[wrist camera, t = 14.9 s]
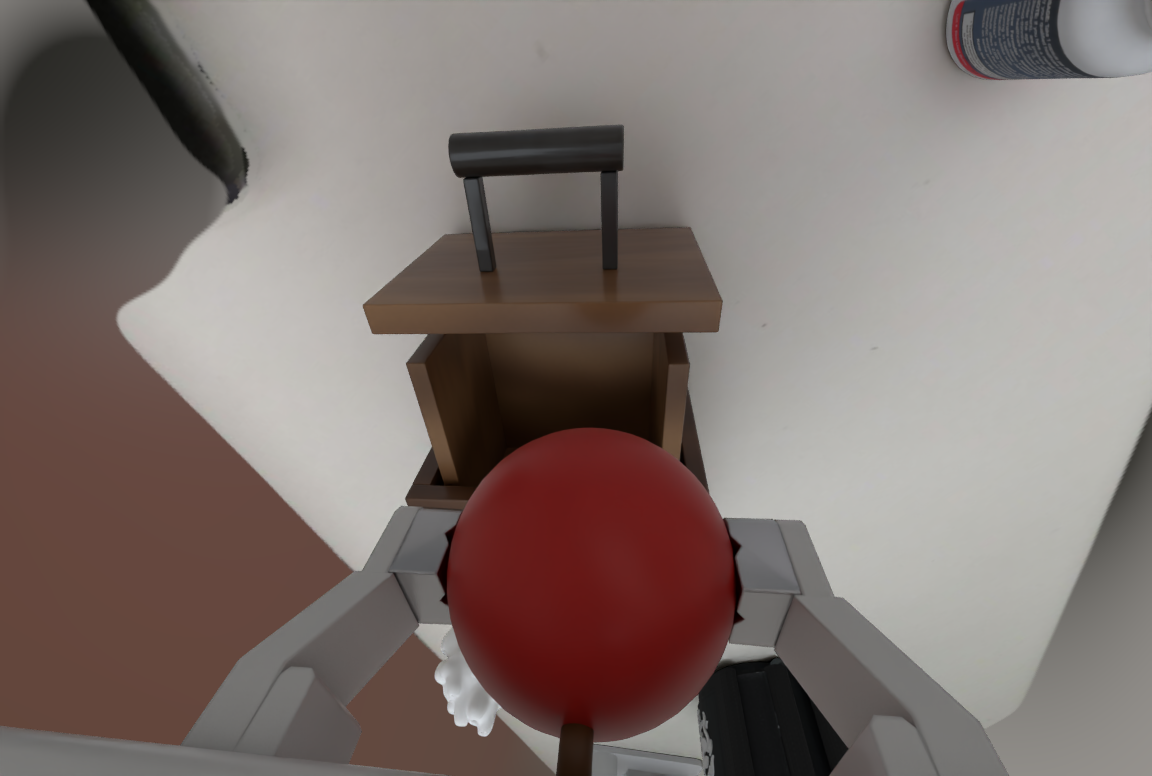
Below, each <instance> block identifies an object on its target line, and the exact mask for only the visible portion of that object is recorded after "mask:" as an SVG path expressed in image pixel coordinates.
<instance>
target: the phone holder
mask: <svg viewBox="0 0 1152 776" xmlns="http://www.w3.org/2000/svg"><path fill="white" fill-rule="evenodd" d="M702 769H703V765H702V761H701V760H698V759H693V758H686V757H679V756H672V755H665V754H658V753H651V752H645V751H638V750H631V749H624V748H617V747H610V746H603V745H593V760H592V776H698V775H699V773H700V772H701V771H702Z"/></svg>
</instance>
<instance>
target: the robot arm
mask: <svg viewBox="0 0 1152 776" xmlns="http://www.w3.org/2000/svg"><path fill="white" fill-rule="evenodd" d="M463 510H464V509H448V508H433V507H414V506H401V507H399V508H398V509H397V510H396V511H395V512H394V514H393V516H392V518H391V519H390V521H389V523H388V525H387V527H386V528H385V530H384V532H383V534H382V536H381V537H380V539H379V541H378V543H377V545H376V546H375V548H374V550H373V552H372V554H371V555H370V557H369V559H368V561H367V563H366V564H365V566H364V568H363V570H362V571H355V572H353V573H352V574H351V575H349V576H348V577H347V578H345V579H344V580H343V581H341V582H340V583H339V584H337V585H336V586H335V587H334V588H332V589H331V590H330V591H328V592H327V593H326V594H324V595H323V596H322V597H320V598H319V599H318V600H316V601H315V602H314V603H312V604H311V605H310V606H309V607H307V608H306V609H304V610H303V611H302V612H301V613H300V614H298V615H297V616H295V617H294V618H293V619H291V620H290V621H289V622H287V623H286V624H285V625H283V626H282V627H281V628H279V629H278V630H277V631H276V632H274V633H273V634H272V635H270V636H269V637H268V638H266V639H265V640H264V641H262V642H261V643H260V644H258V645H257V646H256V647H254V649H252V650H251V651H249V652H248V653H247V654H245V655H244V656H243V657H241V658H240V659H239V660H238V662H237V663H236V665H235V666H234V667H233V669H232V670H231V672H230V673H229V675H228V676H227V678H226V679H225V681H224V682H223V683H222V685H221V686H220V688H219V689H218V691H217V692H216V694H215V695H214V697H213V698H212V700H211V701H210V703H209V704H208V705H207V707H206V708H205V710H204V711H203V713H202V714H201V716H200V717H199V719H198V720H197V722H196V723H195V724H194V726H193V728H192V729H191V730H190V732H189V733H188V735H187V736H186V738H185V739H184V741H183V742H182V744H181V745H180V746H177V745H168V744H159V743H149V742H141V741H131V740H121V739H113V738H104V737H95V736H86V735H77V734H68V733H59V732H50V731H41V730H31V729H22V728H12V727H4V726H0V776H449V775H440V774H431V773H421V772H412V771H403V770H395V769H386V768H376V767H367V766H358V765H349V762H350V759H351V757H352V754H353V752H354V749H355V747H356V744H357V742H358V739H359V737H360V734H361V732H362V731H361V728H360V724H359V723H358V722H357V720H356V719H355V718H354V717H353V716H352V715H351V714H350V712H349V711H348V710H347V709H346V706H347V704H348V703H349V702H350V701H351V700H352V699H353V698H354V696H356V695H357V693H358V692H359V691H360V690H361V689H362V688H363V687H364V686H365V685H366V684H367V682H368V681H369V680H370V679H371V678H372V677H373V676H374V675H375V674H376V673H377V671H378V670H379V669H380V668H381V667H382V666H383V665H384V664H385V663H386V662H387V660H388V659H389V658H390V657H391V656H392V655H393V654H394V653H395V652H396V651H397V650H398V648H399V647H400V646H401V645H402V644H403V643H404V642H405V641H406V640H407V639H408V637H409V636H410V635H411V634H412V633H413V632H414V631H415V630H416V629H417V628H418V627H419V624H418V623H424V624H450V625H452V623H451V619H450V613H449V606H448V599H447V568H448V561H449V554H450V548H451V543H452V539H453V536H454V533H455V529H456V526H457V524H458V521H459V519H460V517H461V514H462V512H463ZM723 521H724V523H725V526H726V529H727V532H728V536H729V539H730V542H731V545H732V548H733V554H734V564H735V575H736V607H735V613H734V620H733V626H732V630H731V633H730V636H729V643H731V644H742V645H752V646H763V647H773V648H775V649H774V650H775V652H776V653H777V654H778V656H779V657H780V658H781V660H782V661H783V662H784V664H785V665H786V666H787V668H788V669H789V670H790V672H791V673H792V674H793V676H794V677H795V678H796V680H797V681H798V682H799V684H800V685H801V686H802V688H803V689H804V690H805V692H806V693H807V694H808V696H809V697H810V698H811V700H812V701H813V702H814V704H815V705H816V706H817V707H818V709H819V710H820V711H821V713H822V714H823V715H824V717H825V718H826V719H827V721H828V722H829V723H830V725H831V726H832V727H833V729H834V730H835V731H836V733H837V734H838V735H839V737H840V738H841V739H842V741H843V742H844V743H845V745H846V746H847V747H848V750H847V752H846V753H845V754H844V756H843V757H842V759H841V760H840V761H839V763H838V764H837V765H836V767H835V768H834V770H833V771H832V772H831V774H830V775H829V776H1009V774H1008V773H1007V771H1006V769H1005V767H1004V765H1003V763H1002V762H1001V760H1000V758H999V756H998V754H997V753H996V751H995V749H994V747H993V745H992V744H991V742H990V740H989V738H988V736H987V734H986V733H985V731H984V729H983V727H982V725H981V723H980V722H979V721H978V720H977V719H976V718H975V717H974V716H973V715H972V714H971V713H970V712H968V711H967V710H966V709H965V708H964V707H963V706H962V705H961V704H960V703H959V702H957V701H956V700H955V699H954V698H953V697H952V696H951V695H950V694H949V693H948V692H946V691H945V690H944V689H943V688H942V687H941V686H940V685H939V684H938V683H936V682H935V681H934V680H933V679H932V678H931V677H930V676H929V675H928V674H927V673H925V672H924V671H923V670H922V669H921V668H920V667H919V666H918V665H917V664H916V663H914V662H913V661H912V660H911V659H910V658H909V657H908V656H907V655H906V654H905V653H903V652H902V651H901V650H900V649H899V648H898V647H897V646H896V645H895V644H894V643H892V642H891V641H890V640H889V639H888V638H887V637H886V636H885V635H884V634H883V633H881V632H880V631H879V630H878V629H877V628H876V627H875V626H874V625H873V624H871V623H870V622H869V621H868V620H867V619H866V618H865V617H864V616H863V615H862V614H860V613H859V612H858V611H857V610H856V609H855V608H854V607H853V606H852V605H851V604H849V603H848V602H847V601H846V600H845V599H844V598H841V597H834V594H833V592H832V589H831V587H830V584H829V582H828V580H827V577H826V575H825V572H824V570H823V567H822V565H821V562H820V560H819V557H818V555H817V552H816V550H815V548H814V545H813V543H812V540H811V538H810V535H809V533H808V530H807V528H806V525H805V524H804V523H803V522H802V521H800V520H773V519H751V518H724V519H723Z"/></svg>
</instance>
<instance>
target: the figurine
mask: <svg viewBox="0 0 1152 776" xmlns="http://www.w3.org/2000/svg"><path fill="white" fill-rule="evenodd" d="M441 651H442V653H443V654H444V655H446V656H447V657H448V659H446V660H444V661H442V662H441V663H440V664H439V665H438V666H437V668H436V671H435V679H436V681H437V682H438V683H440V684H441V685H443V693H444V696H445V697H446V699H447V701H448V705H447V709H448V712H449V713H450V714H454V720H455V724H456V725H457V726H466V725H467V723H468V722H469V723H470V724H472V725H474V726H477V728H478V734H479V735H480V736H487V735H488V734H489V733H490V732H491V730H492V727H493V724H494V720H495V715H496V712H497V710H499V709H500V708H502V707H501V706H500V705H499V704H498V703H497V702H496V701H495V700H494V699H493V698H492V697H491V696H490V695H489V694H488V693H487V692H486V691H485V690H484V688H483V687H482V686H481V684H480V683H479V681H478V680H477V679H476V677H475V676H474V674H473V673H472V672H471V670H470V668H469V666H468V664H467V662H466V660H465V658H464V656H463V654H462V652H461V650H460V648H459V646H458V642H457V639H456V636H455V633H454V629H453V627H452V628H451V629H450V630H449V631H448V633H447V634H446V635H445V637H444V638H443V640H442V643H441Z"/></svg>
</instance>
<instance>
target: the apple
mask: <svg viewBox="0 0 1152 776" xmlns="http://www.w3.org/2000/svg"><path fill="white" fill-rule="evenodd" d="M447 599H448V606H449V613H450V619H451V623H452V626H453V629H454V633H455V636H456V639H457V642H458V646H459V648H460V650H461V652H462V654H463V656H464V658H465V660H466V662H467V664H468V666H469V668H470V670H471V672H472V673H473V674H474V676H475V677H476V679H477V680H478V681H479V683H480V684H481V686H482V687H483V688H484V690H485V691H486V692H487V693H488V694H489V695H490V696H491V697H492V698H493V699H494V700H495V701H496V702H497V703H498V704H499V705H500V706H501V707H502V708H503V709H504V710H505V711H507V712H508V713H509V714H511V715H512V716H514V717H515V718H517V719H518V720H520V721H521V722H523V723H524V724H526V725H528V726H529V727H531V728H533V729H535V730H538V731H540V732H543V733H546V734H549V735H552V736H555V737H558V738H560V743H559V753H558V763H557V772H556V776H592V760H593V742H609V741H617V740H623V739H627V738H630V737H633V736H636V735H638V734H641V733H644V732H647V731H649V730H651V729H654V728H656V727H657V726H659V725H660V724H662V723H664V722H665V721H667V720H668V719H670V718H672V717H673V716H675V715H676V714H678V713H679V712H680V711H681V710H682V709H683V708H684V707H685V706H686V705H687V704H688V703H689V702H690V701H691V700H692V699H694V698H695V697H696V696H697V695H698V693H699V692H700V691H701V689H702V688H703V687H704V685H705V684H706V683H707V681H708V680H709V678H710V677H711V676H712V674H713V673H714V671H715V669H716V667H717V665H718V663H719V661H720V659H721V657H722V655H723V653H724V650H725V648H726V645H727V642H728V639H729V636H730V633H731V630H732V626H733V620H734V613H735V607H736V575H735V564H734V554H733V548H732V545H731V542H730V539H729V536H728V532H727V529H726V526H725V523H724V521H723V519H722V517H721V515H720V513H719V511H718V509H717V507H716V505H715V503H714V501H713V500H712V498H711V496H710V495H709V493H708V492H707V491H706V489H705V488H704V486H703V485H702V484H701V483H700V481H699V480H698V479H697V478H696V476H695V475H694V474H693V473H692V472H691V471H690V470H689V469H687V468H686V467H685V466H684V465H683V464H682V463H681V462H680V461H679V460H678V459H677V458H675V457H674V456H673V455H671V454H670V453H668V452H667V451H665V450H664V449H662V448H660V447H659V446H657V445H655V444H653V443H651V442H649V441H647V440H645V439H643V438H640V437H638V436H635V435H633V434H629V433H625V432H622V431H617V430H611V429H605V428H575V429H568V430H562V431H558V432H555V433H551V434H548V435H546V436H543V437H540V438H538V439H535V440H533V441H530V442H529V443H527V444H525V445H523V446H521V447H520V448H518V449H517V450H515V451H514V452H512V453H511V454H510V455H508V456H507V457H506V458H504V459H503V460H501V461H500V462H499V463H498V464H497V465H496V466H495V467H494V468H493V469H492V470H491V471H490V473H489V474H488V475H487V476H486V477H485V478H484V479H483V480H482V481H481V483H480V484H479V486H478V487H477V488H476V490H475V491H474V493H473V494H472V496H471V497H470V499H469V500H468V502H467V504H466V506H465V508H464V510H463V512H462V514H461V517H460V519H459V521H458V524H457V526H456V529H455V533H454V536H453V539H452V543H451V548H450V554H449V561H448V568H447Z"/></svg>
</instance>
